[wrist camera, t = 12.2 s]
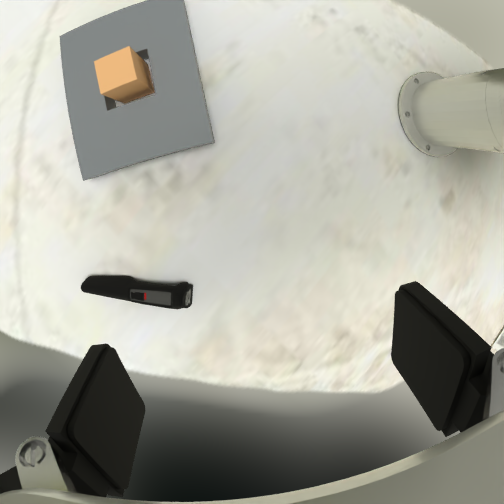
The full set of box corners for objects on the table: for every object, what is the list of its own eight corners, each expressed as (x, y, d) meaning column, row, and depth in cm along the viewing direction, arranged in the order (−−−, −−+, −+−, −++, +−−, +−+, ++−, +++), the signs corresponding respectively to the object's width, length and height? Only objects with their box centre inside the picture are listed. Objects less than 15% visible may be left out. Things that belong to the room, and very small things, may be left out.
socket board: (184, 2, 28) (181, -9, 25) (214, 142, 35) (213, 141, 32) (71, 43, 28) (59, 36, 25) (94, 177, 35) (83, 180, 32)
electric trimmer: (88, 266, 39) (79, 275, 36) (193, 280, 41) (190, 291, 38) (89, 290, 40) (81, 300, 37) (191, 305, 42) (189, 317, 39)
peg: (147, 64, 31) (129, 46, 23) (154, 92, 32) (136, 79, 25) (118, 76, 31) (93, 61, 23) (124, 103, 32) (100, 94, 25)
